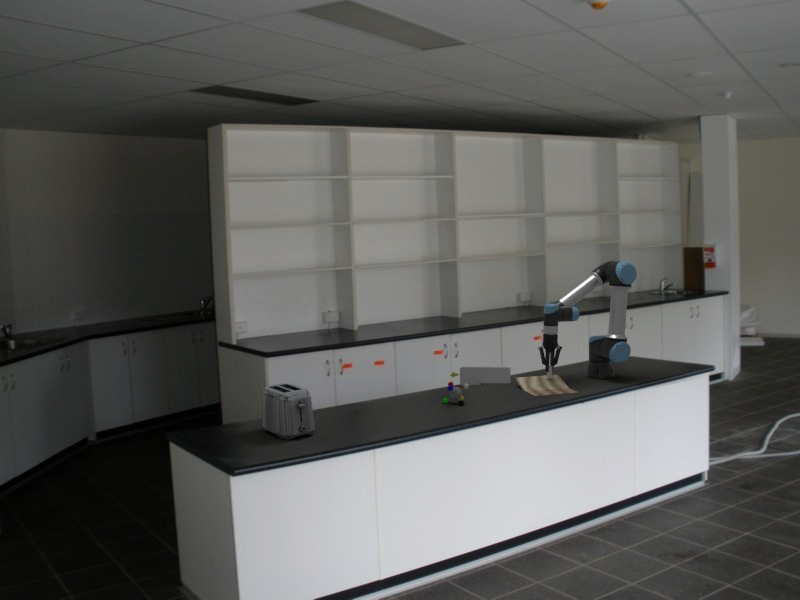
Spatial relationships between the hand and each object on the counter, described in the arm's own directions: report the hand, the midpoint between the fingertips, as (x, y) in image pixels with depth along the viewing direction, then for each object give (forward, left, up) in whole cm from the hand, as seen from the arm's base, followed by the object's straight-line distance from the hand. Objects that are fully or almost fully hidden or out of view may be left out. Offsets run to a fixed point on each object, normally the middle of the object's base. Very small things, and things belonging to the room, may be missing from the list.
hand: (549, 378), depth 400 cm
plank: (+5, +2, -3) cm, 6 cm away
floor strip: (+5, +15, -5) cm, 17 cm away
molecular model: (+57, +17, -5) cm, 60 cm away
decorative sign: (+31, -19, -6) cm, 37 cm away
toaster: (+141, +43, -5) cm, 148 cm away
